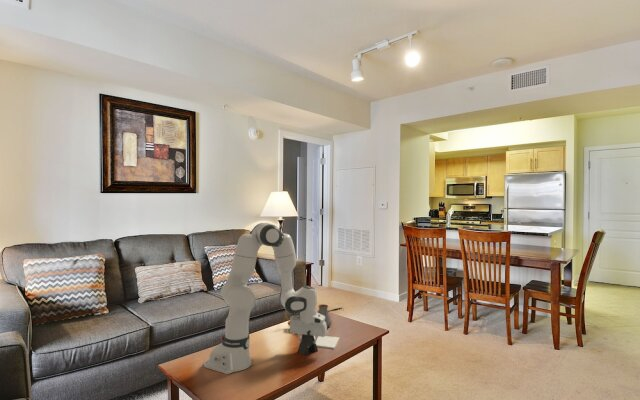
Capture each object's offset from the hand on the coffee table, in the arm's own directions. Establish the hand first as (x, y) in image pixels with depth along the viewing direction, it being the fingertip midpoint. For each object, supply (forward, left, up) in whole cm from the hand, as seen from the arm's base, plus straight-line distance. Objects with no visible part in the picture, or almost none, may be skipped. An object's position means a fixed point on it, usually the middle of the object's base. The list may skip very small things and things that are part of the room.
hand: (308, 342), depth 179 cm
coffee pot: (+3, +36, -5) cm, 36 cm away
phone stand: (0, 0, -5) cm, 5 cm away
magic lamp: (-16, +26, -5) cm, 31 cm away
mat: (+3, +14, -5) cm, 15 cm away
